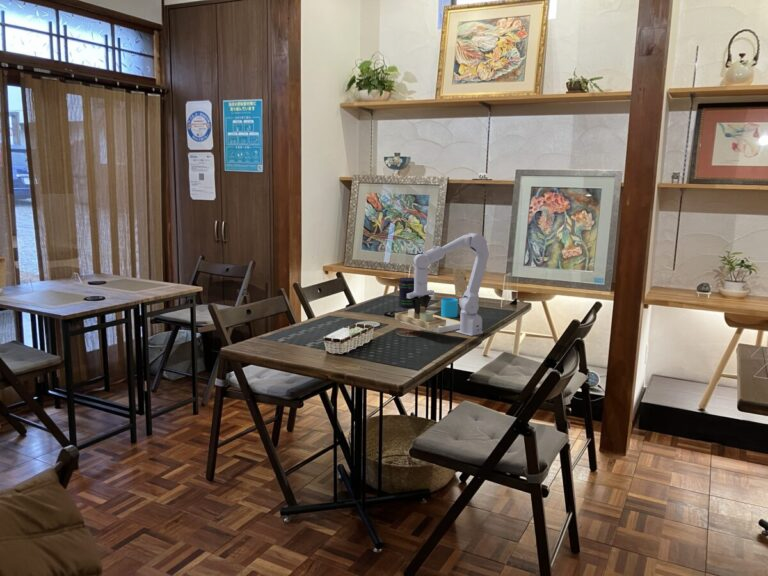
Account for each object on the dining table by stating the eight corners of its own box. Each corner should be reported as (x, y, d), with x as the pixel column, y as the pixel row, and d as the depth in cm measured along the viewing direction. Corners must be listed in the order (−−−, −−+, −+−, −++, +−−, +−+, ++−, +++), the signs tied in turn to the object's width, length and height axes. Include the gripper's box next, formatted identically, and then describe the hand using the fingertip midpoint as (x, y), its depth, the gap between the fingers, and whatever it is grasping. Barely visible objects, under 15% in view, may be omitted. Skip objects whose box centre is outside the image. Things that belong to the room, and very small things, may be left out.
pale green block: (432, 320, 268) (432, 313, 268) (425, 321, 266) (426, 314, 265) (426, 318, 271) (426, 311, 271) (419, 319, 269) (419, 313, 268)
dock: (464, 327, 285) (464, 322, 284) (439, 333, 275) (439, 327, 274) (425, 317, 304) (425, 312, 304) (400, 322, 294) (400, 316, 294)
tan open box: (445, 326, 267) (446, 310, 265) (429, 329, 260) (429, 313, 259) (411, 316, 283) (411, 301, 282) (394, 319, 277) (395, 304, 276)
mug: (452, 318, 304) (453, 301, 303) (438, 316, 309) (438, 299, 307) (463, 313, 314) (464, 298, 313) (449, 311, 319) (449, 296, 317)
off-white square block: (420, 316, 274) (420, 310, 273) (414, 318, 272) (414, 311, 271) (414, 315, 277) (414, 308, 276) (407, 316, 275) (408, 309, 274)
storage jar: (394, 306, 331) (394, 278, 328) (407, 304, 337) (408, 276, 334) (407, 309, 323) (408, 281, 321) (421, 306, 330) (421, 279, 327)
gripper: (426, 279, 276) (426, 309, 279) (402, 282, 267) (401, 313, 269) (437, 281, 271) (437, 311, 273) (413, 284, 262) (412, 316, 264)
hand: (420, 312), depth 271 cm, fingers closed on tan open box, 3 cm apart
